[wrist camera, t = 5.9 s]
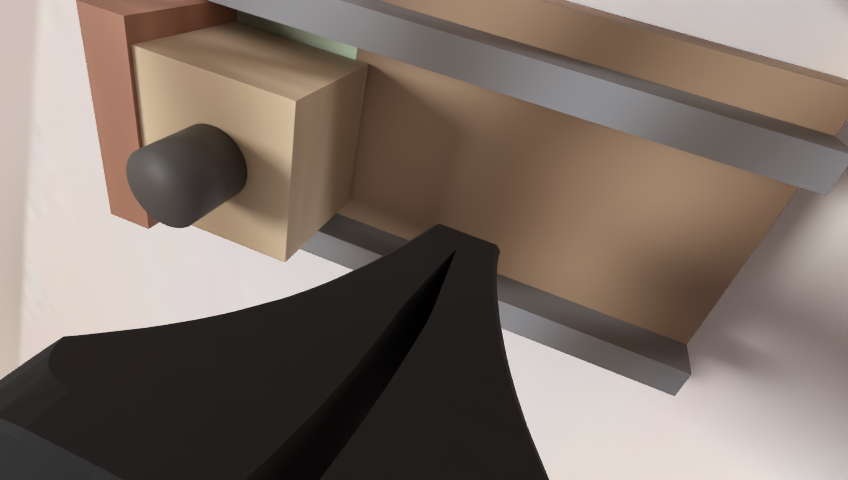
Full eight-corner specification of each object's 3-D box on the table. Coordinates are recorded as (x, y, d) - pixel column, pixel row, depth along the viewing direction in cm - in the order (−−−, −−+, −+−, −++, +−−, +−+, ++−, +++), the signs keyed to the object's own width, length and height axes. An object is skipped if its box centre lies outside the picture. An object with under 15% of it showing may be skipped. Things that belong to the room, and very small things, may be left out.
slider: (368, 64, 13) (248, 124, 9) (348, 201, 16) (246, 299, 11) (235, 21, 14) (64, 59, 10) (235, 159, 16) (98, 237, 12)
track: (845, 79, 11) (968, 161, 7) (654, 360, 16) (663, 499, 12) (219, -97, 14) (50, -109, 10) (224, 194, 19) (114, 265, 15)
